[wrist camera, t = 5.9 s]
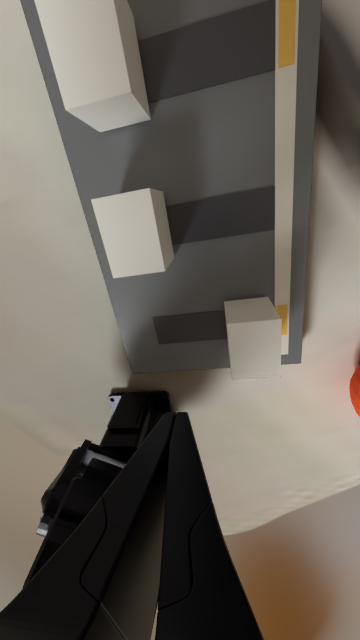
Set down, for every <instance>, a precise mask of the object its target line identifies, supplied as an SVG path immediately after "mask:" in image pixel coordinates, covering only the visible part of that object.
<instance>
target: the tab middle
mask: <svg viewBox="0 0 360 640" xmlns="http://www.w3.org/2000/svg"><path fill="white" fill-rule="evenodd" d="M91 202H92V205H93V209H94V212H95V216H96V219H97V223H98V227H99V230H100V234H101V237H102V241H103V244H104V248H105V251H106V255H107V258H108V262H109V265H110V269H111V272H112V276H113V278H120V277H127V276H135V275H142V274H150V273H157V272H164V271H166V269H167V268H168V267H169V265H170V264H171V262H172V261H173V259H174V253H173V247H172V241H171V235H170V230H169V224H168V218H167V212H166V206H165V200H164V194H163V191H159V190H155V189H151V188H146V189H141V190H136V191H131V192H126V193H121V194H116V195H111V196H106V197H101V198H96V199H91Z"/></svg>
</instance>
